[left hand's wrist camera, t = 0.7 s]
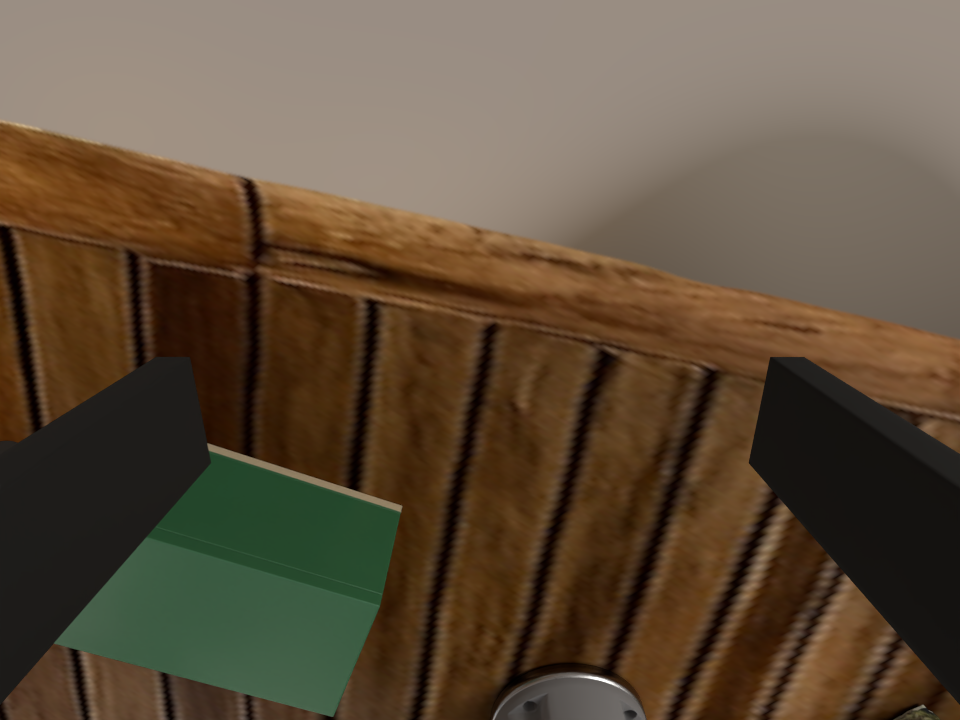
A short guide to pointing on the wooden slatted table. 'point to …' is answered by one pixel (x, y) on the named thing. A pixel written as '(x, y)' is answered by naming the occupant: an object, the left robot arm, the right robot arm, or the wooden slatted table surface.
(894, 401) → the wooden slatted table surface
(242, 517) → the cabinet
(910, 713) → the fossil
